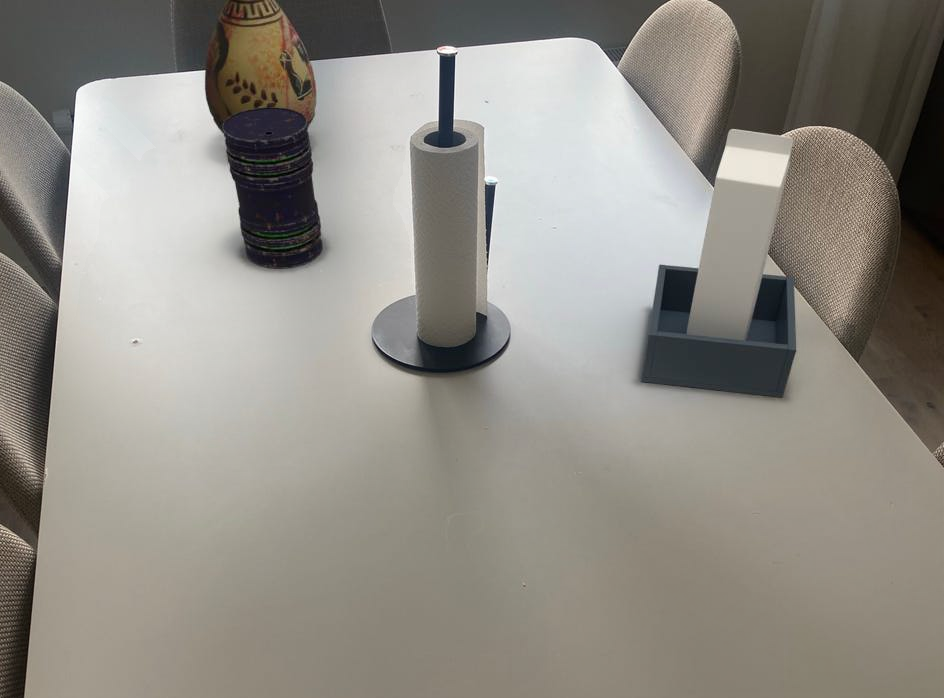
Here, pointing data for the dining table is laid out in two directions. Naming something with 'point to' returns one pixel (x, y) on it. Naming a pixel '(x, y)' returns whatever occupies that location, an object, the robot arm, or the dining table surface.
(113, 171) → the dining table surface
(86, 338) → the dining table surface
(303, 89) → the ceramic jug
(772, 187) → the tall white rectangular prism
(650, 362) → the tote
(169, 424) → the dining table surface
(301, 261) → the dark blue cylinder
